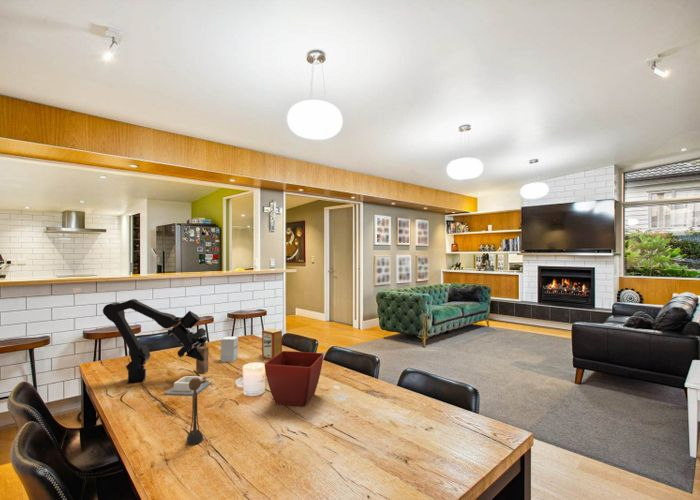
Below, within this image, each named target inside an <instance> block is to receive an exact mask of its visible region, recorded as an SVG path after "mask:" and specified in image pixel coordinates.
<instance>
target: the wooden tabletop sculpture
mask: <svg viewBox="0 0 700 500" xmlns="http://www.w3.org/2000/svg"><path fill="white" fill-rule="evenodd" d="M205 382H207V381H206V379H205V378H203V380H200V379H199V378H193V379H192V380H191V381H190V382H189V388H190V390H194V393H192V395H191V398H192V404H191V405H192V406H191V409H192V412H191V424H190V430H189V433H188V434H187V437H186V441H185V442H186V444H187V445H189V446H194V445H198V444H200V443H202V442H203V440H204V434H203V433H202V431H201V430H200V425H199V417H198V413H199V412H198V394H199V393H197V392H196V390H197V389H199V387H200V385H201V384H202V383H205Z"/></svg>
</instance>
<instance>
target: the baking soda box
mask: <svg viewBox="0 0 700 500" xmlns="http://www.w3.org/2000/svg"><path fill="white" fill-rule="evenodd" d="M282 351H283V330H279V329H276V328H268V329H262V330H261V358H262V359H265V358H266V360H268V359H269V360H271V359H272V358H273V357H275V356H276V355H277V354H279V353H280V352H282ZM269 360H268V361H269Z"/></svg>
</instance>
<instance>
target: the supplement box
mask: <svg viewBox="0 0 700 500" xmlns="http://www.w3.org/2000/svg"><path fill="white" fill-rule="evenodd" d="M237 359H239V336H224V337H223V338H221V339H220V363H234V362H235V361H236V360H237Z"/></svg>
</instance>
